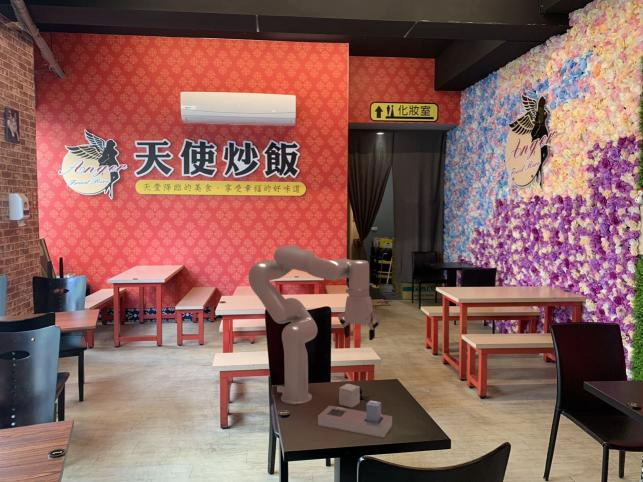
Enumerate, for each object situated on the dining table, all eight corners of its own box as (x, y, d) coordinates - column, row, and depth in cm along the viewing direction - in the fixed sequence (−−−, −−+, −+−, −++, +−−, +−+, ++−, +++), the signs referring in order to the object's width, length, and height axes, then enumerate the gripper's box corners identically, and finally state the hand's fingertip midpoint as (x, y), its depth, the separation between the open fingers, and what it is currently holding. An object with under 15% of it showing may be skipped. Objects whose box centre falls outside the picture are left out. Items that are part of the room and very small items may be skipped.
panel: (318, 426, 165) (317, 415, 165) (329, 416, 175) (329, 405, 174) (383, 439, 155) (383, 427, 155) (392, 427, 165) (392, 415, 164)
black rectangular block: (340, 400, 192) (340, 389, 192) (345, 394, 199) (345, 383, 199) (370, 403, 188) (370, 391, 188) (374, 396, 195) (374, 385, 195)
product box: (347, 401, 189) (347, 383, 189) (360, 404, 186) (360, 386, 186) (338, 405, 184) (338, 387, 184) (351, 409, 181) (351, 390, 181)
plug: (366, 430, 161) (366, 403, 161) (370, 425, 165) (370, 398, 164) (377, 432, 159) (377, 404, 159) (381, 427, 163) (381, 400, 163)
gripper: (334, 293, 176) (334, 338, 177) (378, 296, 169) (378, 343, 170) (341, 290, 183) (341, 334, 184) (384, 293, 176) (384, 338, 177)
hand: (359, 338), depth 177 cm, fingers open, 9 cm apart
